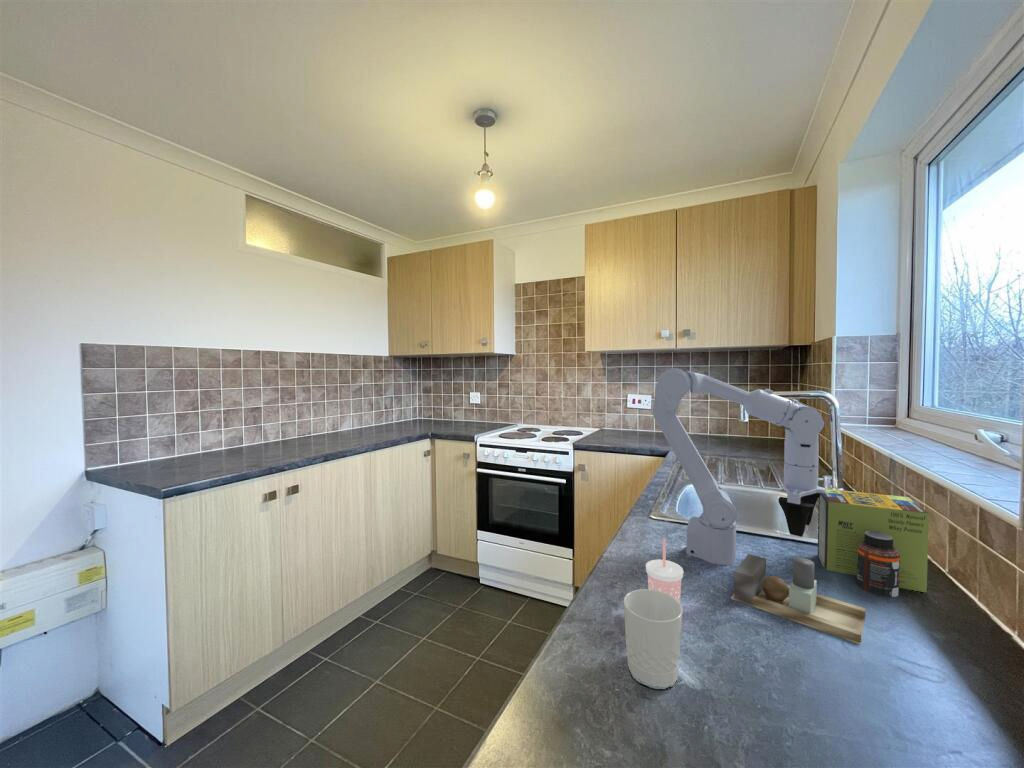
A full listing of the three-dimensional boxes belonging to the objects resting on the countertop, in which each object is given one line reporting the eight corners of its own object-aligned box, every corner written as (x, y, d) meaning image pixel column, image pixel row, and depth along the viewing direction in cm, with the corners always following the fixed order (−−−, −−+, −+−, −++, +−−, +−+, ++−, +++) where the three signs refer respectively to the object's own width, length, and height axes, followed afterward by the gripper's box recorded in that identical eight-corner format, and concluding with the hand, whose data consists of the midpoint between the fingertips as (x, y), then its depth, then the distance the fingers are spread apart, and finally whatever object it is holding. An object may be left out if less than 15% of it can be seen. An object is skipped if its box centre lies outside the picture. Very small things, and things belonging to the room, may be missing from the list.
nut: (759, 599, 73) (760, 577, 73) (765, 590, 76) (765, 569, 76) (786, 608, 70) (786, 586, 70) (790, 598, 73) (791, 577, 73)
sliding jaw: (788, 610, 69) (789, 564, 69) (795, 596, 74) (796, 552, 73) (810, 618, 67) (811, 571, 67) (816, 602, 72) (817, 558, 71)
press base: (730, 604, 74) (730, 571, 74) (746, 582, 81) (746, 552, 81) (860, 652, 61) (861, 612, 61) (865, 621, 69) (866, 585, 68)
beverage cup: (648, 604, 74) (648, 529, 74) (684, 613, 72) (684, 535, 71) (643, 624, 69) (642, 543, 68) (682, 634, 66) (682, 549, 66)
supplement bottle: (907, 605, 73) (909, 543, 72) (869, 601, 74) (871, 540, 74) (884, 587, 79) (886, 529, 78) (849, 584, 80) (850, 527, 79)
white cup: (640, 645, 64) (640, 583, 63) (691, 671, 58) (691, 603, 58) (613, 672, 58) (613, 604, 58) (666, 704, 53) (667, 629, 52)
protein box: (928, 594, 76) (931, 513, 75) (825, 575, 83) (827, 501, 83) (906, 569, 85) (909, 496, 84) (816, 554, 92) (817, 487, 92)
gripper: (819, 474, 75) (818, 546, 76) (830, 460, 85) (829, 523, 86) (775, 468, 80) (774, 536, 81) (790, 455, 90) (789, 515, 91)
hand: (799, 529), depth 84 cm, fingers open, 7 cm apart
